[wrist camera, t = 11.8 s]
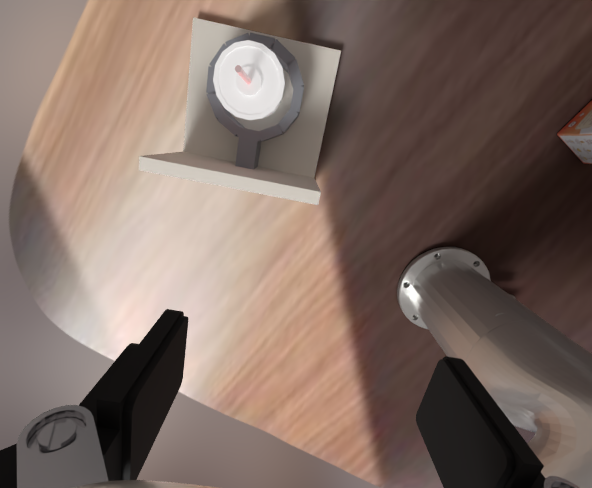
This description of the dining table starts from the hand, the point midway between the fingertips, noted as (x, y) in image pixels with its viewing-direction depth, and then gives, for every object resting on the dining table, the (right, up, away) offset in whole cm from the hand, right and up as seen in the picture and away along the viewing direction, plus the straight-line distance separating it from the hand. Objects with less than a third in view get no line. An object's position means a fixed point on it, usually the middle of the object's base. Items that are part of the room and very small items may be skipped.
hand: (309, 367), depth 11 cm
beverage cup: (-5, +21, +24) cm, 32 cm away
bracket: (-5, +20, +25) cm, 33 cm away
